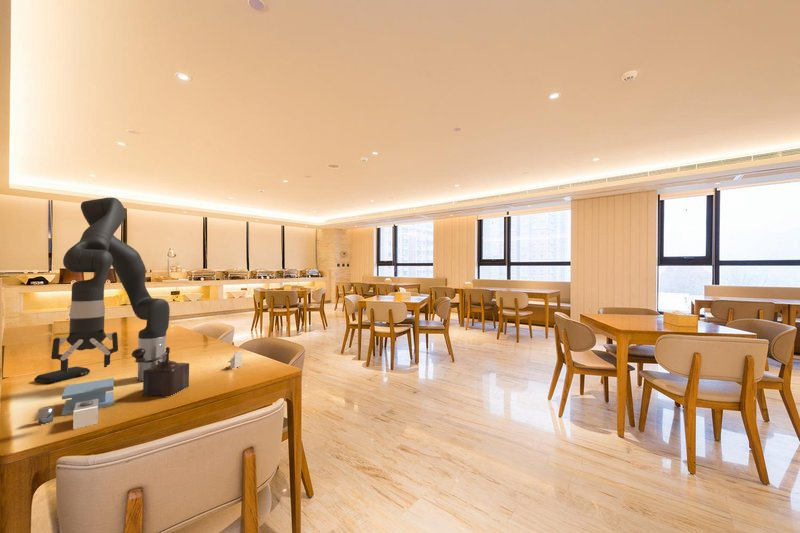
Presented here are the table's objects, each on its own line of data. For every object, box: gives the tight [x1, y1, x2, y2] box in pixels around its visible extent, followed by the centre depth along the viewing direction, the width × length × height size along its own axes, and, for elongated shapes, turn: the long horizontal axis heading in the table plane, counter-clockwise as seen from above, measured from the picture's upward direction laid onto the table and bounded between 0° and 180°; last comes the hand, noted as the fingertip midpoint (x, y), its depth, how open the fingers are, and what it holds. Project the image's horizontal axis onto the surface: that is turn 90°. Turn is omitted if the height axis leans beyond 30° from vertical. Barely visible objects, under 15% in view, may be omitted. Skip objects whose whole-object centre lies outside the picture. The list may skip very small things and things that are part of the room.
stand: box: [61, 377, 115, 416], centre depth 109 cm, size 12×12×6 cm
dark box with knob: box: [131, 346, 190, 398], centre depth 118 cm, size 16×11×18 cm
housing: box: [72, 399, 99, 430], centre depth 97 cm, size 8×5×6 cm, turn 41°
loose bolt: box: [37, 406, 54, 425], centre depth 96 cm, size 3×3×4 cm
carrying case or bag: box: [33, 366, 91, 385], centre depth 133 cm, size 11×3×15 cm
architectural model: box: [227, 350, 243, 369], centre depth 151 cm, size 3×7×7 cm, turn 175°
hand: (86, 369), depth 97 cm, fingers open, 8 cm apart
